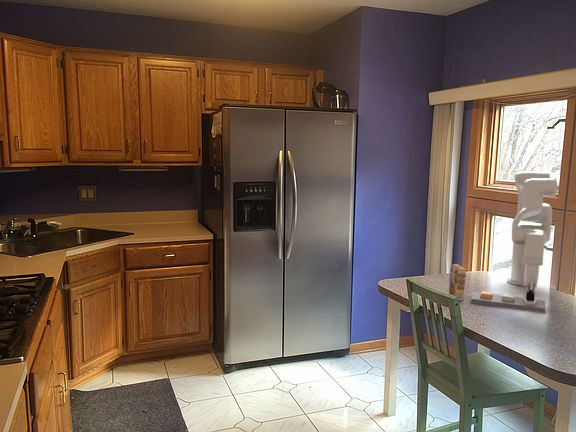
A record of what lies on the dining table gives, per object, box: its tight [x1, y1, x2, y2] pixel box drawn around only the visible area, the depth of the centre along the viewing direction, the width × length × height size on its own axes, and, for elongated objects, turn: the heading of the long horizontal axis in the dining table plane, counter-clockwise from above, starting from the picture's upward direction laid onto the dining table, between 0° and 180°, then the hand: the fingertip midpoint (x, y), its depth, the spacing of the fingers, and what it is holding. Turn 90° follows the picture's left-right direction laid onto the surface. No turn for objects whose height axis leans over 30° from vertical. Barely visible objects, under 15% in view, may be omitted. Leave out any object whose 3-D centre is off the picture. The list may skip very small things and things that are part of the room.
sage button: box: [502, 293, 514, 302], centre depth 217 cm, size 4×4×2 cm
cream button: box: [523, 297, 536, 305], centre depth 213 cm, size 4×4×2 cm
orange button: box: [481, 290, 493, 299], centre depth 221 cm, size 4×4×2 cm
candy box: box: [448, 263, 467, 302], centre depth 224 cm, size 9×4×15 cm, turn 2°
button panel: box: [470, 291, 546, 314], centre depth 217 cm, size 12×30×2 cm, turn 64°
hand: (530, 300), depth 213 cm, fingers closed
